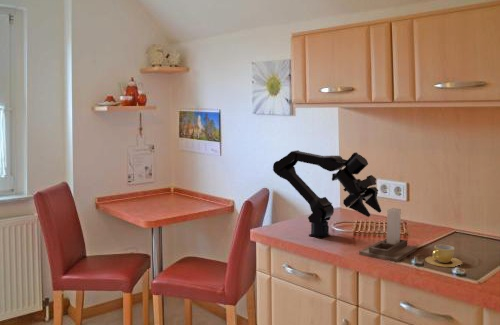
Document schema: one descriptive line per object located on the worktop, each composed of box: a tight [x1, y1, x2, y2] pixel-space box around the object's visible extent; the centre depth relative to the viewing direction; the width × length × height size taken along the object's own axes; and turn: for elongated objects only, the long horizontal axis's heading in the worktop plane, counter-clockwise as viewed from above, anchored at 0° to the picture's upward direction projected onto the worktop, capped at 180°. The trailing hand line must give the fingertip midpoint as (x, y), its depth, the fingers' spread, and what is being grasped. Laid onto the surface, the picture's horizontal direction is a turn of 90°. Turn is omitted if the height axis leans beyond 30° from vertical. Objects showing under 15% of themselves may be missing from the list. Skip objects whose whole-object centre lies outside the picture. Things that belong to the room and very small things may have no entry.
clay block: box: [386, 207, 402, 245], centre depth 188 cm, size 3×5×14 cm, turn 141°
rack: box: [358, 238, 418, 263], centre depth 185 cm, size 14×18×3 cm
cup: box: [424, 244, 463, 268], centre depth 174 cm, size 12×12×5 cm
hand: (375, 214), depth 192 cm, fingers open, 9 cm apart
